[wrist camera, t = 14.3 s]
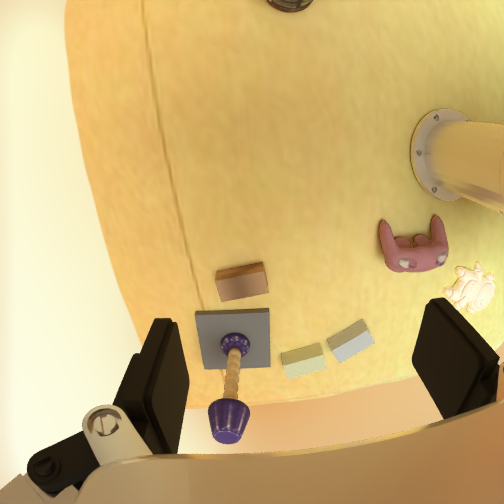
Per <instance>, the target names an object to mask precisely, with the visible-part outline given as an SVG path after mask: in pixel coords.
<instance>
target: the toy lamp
mask: <svg viewBox="0 0 504 504" xmlns="http://www.w3.org/2000/svg"><path fill="white" fill-rule="evenodd" d="M220 346H221V350H222V352H223V353H224V354H225V355H226V356H227V357H229V359H228V361H227V365H228V366H227V368H226V373H227V374H226V376H225V382H226V383H225V385H224V390H225V391H224V394H223V398H222V399H218V400H216V401H214V402H212V403H211V405H210V406H209V409H208V415H209V420H210V426H211V431H212V435H213V437H214V439H215V440H216V441H218V442H220V443H223V444H234V443H237V442H238V441H239V440H240V439H241V437H242V435H243V433H244V430H245V428H246V425H247V422H248V420H249V417H250V410H249V408H248V406H247V405H246V404H244V403H243V402H241V401H239V400H237V399H238V394H237V392H238V382H239V373H240V368H239V367H240V358H241V357H244V356H245V355H246V354H247V353H248V351H249V349H250V341H249V340H248V338H247V337H246V336H244V335H242V334H240V333H230V334H227V335H225V336H224V337H223V338H222V339H221V342H220Z"/></svg>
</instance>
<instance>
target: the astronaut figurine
mask: <svg viewBox="0 0 504 504" xmlns="http://www.w3.org/2000/svg"><path fill="white" fill-rule="evenodd" d="M455 273H456V275H457V276H458V280H457V282H456V283H455V285H454V286H453V287H445V288H444V289H443V293H444V294H445V295H446V296H447V297H448V298H449V299H450V300H452V301H455V303H454V304H453V307H454V308H455V309H456V310H460V309H461V307H462V308H463V307H465V305H466V304H467V306H468V307H467V311H468V312H469V313H470V314H473V313H475V312H476V311H480V310H482V309H484V308H485V307H486V306H487V305H488V304H489V303H490V301H491V299H492V297H493V295H494V291H495V284H494V282H493V280H494V275H493V274H492V273H487V274H486V275H483V270H482V267H481V265H480V263H479V262H476V263H475V265H474V267H473V270H472V271H470V270H469V269H467V268H464V267H456V269H455ZM482 275H483V276H482Z"/></svg>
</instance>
